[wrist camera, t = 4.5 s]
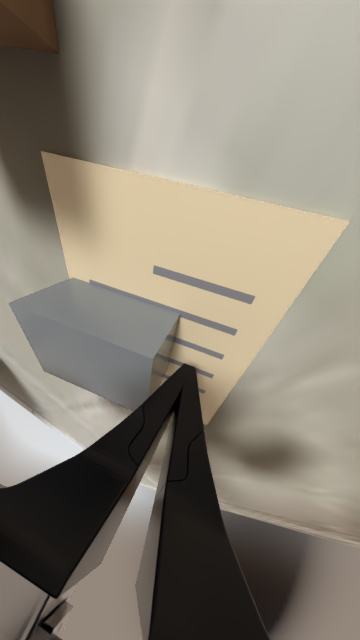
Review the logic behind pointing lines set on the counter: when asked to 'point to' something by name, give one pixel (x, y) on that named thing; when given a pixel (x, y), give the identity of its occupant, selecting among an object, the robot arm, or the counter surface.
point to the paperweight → (99, 339)
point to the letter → (189, 259)
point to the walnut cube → (28, 25)
